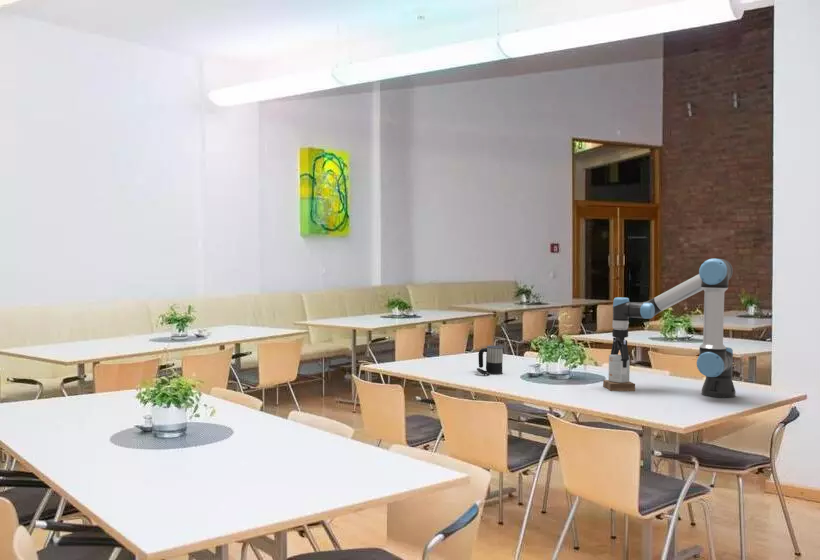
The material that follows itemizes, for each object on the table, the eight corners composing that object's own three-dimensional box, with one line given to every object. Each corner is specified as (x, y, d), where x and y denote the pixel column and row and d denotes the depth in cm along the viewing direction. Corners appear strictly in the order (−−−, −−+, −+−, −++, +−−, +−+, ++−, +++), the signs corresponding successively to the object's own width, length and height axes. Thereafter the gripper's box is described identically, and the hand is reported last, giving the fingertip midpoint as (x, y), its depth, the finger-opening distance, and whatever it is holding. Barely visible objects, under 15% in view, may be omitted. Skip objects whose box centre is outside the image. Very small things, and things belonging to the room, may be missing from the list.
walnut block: (635, 392, 397) (635, 383, 397) (610, 392, 396) (610, 383, 396) (626, 388, 409) (626, 380, 409) (603, 388, 408) (603, 380, 408)
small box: (629, 382, 401) (630, 355, 401) (621, 383, 397) (622, 356, 397) (616, 380, 407) (616, 354, 407) (607, 381, 403) (608, 354, 403)
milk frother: (503, 372, 452) (503, 345, 451) (502, 376, 436) (503, 349, 435) (477, 371, 453) (477, 345, 453) (476, 375, 438) (476, 348, 437)
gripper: (636, 331, 389) (635, 376, 390) (619, 326, 414) (618, 368, 415) (621, 331, 389) (620, 375, 389) (605, 326, 414) (604, 368, 414)
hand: (619, 372), depth 402 cm, fingers open, 13 cm apart
